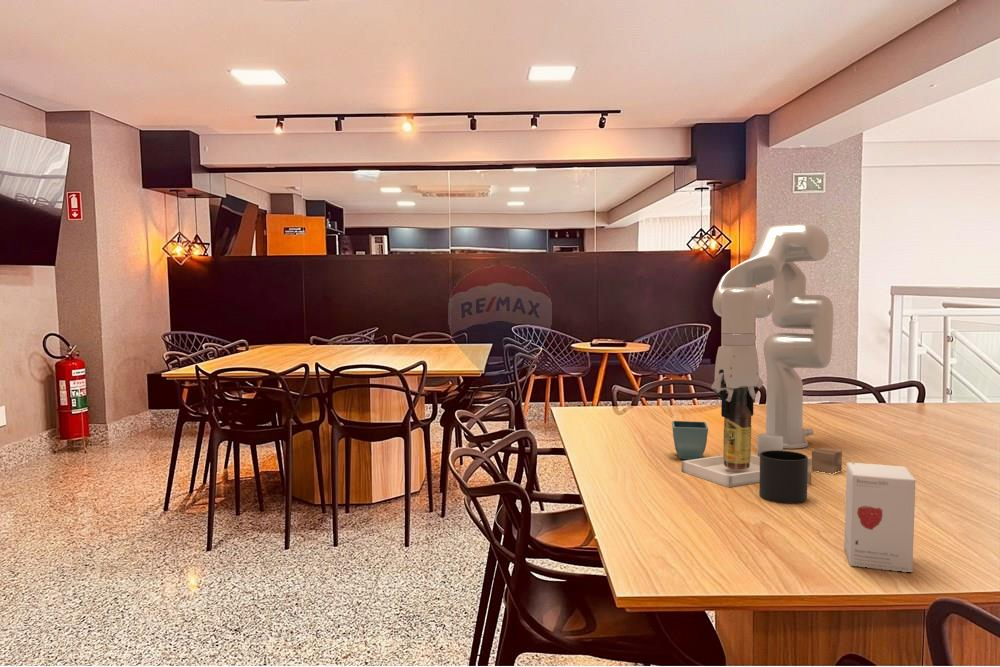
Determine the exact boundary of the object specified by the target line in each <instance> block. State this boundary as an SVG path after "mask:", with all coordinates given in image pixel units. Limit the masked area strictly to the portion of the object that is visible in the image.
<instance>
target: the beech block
mask: <svg viewBox="0 0 1000 667" xmlns="http://www.w3.org/2000/svg"><path fill="white" fill-rule="evenodd" d="M807 457H808V477H807V484H811V485H812V457H809V456H807Z"/></svg>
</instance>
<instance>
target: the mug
mask: <svg viewBox="0 0 1000 667" xmlns="http://www.w3.org/2000/svg"><path fill="white" fill-rule="evenodd" d="M808 457H809V456H807V455H806V454H803V453H801V452H796V451H791V450H790V451H789V450H783V451H781V450H772V451H764V452H761V453H760V482H759V486H758V487H759V490H758V491H759V492H758V493H759V495H760V497H761V498H763V499H765V500H767V501H771V502H774V501H775V502H774V503H780V502H781V504H799V503H803V502H806V501H807V499H808V485H807V477H808Z"/></svg>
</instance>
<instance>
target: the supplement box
mask: <svg viewBox="0 0 1000 667" xmlns="http://www.w3.org/2000/svg"><path fill="white" fill-rule="evenodd" d="M845 481H846V484H845V486H846V487H845V488H846V489H845V508H844V509H845V514H844V515H845V516H844V540H843V541H844V544H843V547H844V550H845V553H846V554H845V555H846V556H847V560H848V563H849V565H850V567H857V566H858V567H857V568H859V567H860V568H865V567H867V568H868V569H873V570H874V569H875V570H881V569H882V570H883V571H889V570H892V571H891V572H897V571H902V572H901V573H906V572H913V570H914V568H913V566H914V563H913V562H914V536H915V510H916V509H915V507H916V506H915V505H916V504H915V503H916V479H915V477H914V476H913V475H912V473H911V472H910V471H909V470H908V468H907V467H906V466H903V465H902V466H901V465H889V464H886V465H885V464H877V463H876V464H875V463H863V462H862V463H861V462H850V461H849V462H846V480H845ZM867 568H866V569H867Z"/></svg>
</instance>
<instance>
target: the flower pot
mask: <svg viewBox="0 0 1000 667" xmlns="http://www.w3.org/2000/svg"><path fill="white" fill-rule="evenodd" d="M671 425H672V426H671V427H672V435H673V436H672V437H673V443H674V444H673V445H674V449H675V451H676V455H677V456H678V458H679V459H681V460H693V459H700V458H703V457H702V456H704V453H705V451H706V447H707V441H708V433H709V427H708V424H707V422H706V421H689V420H684V421H683V420H671Z"/></svg>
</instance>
